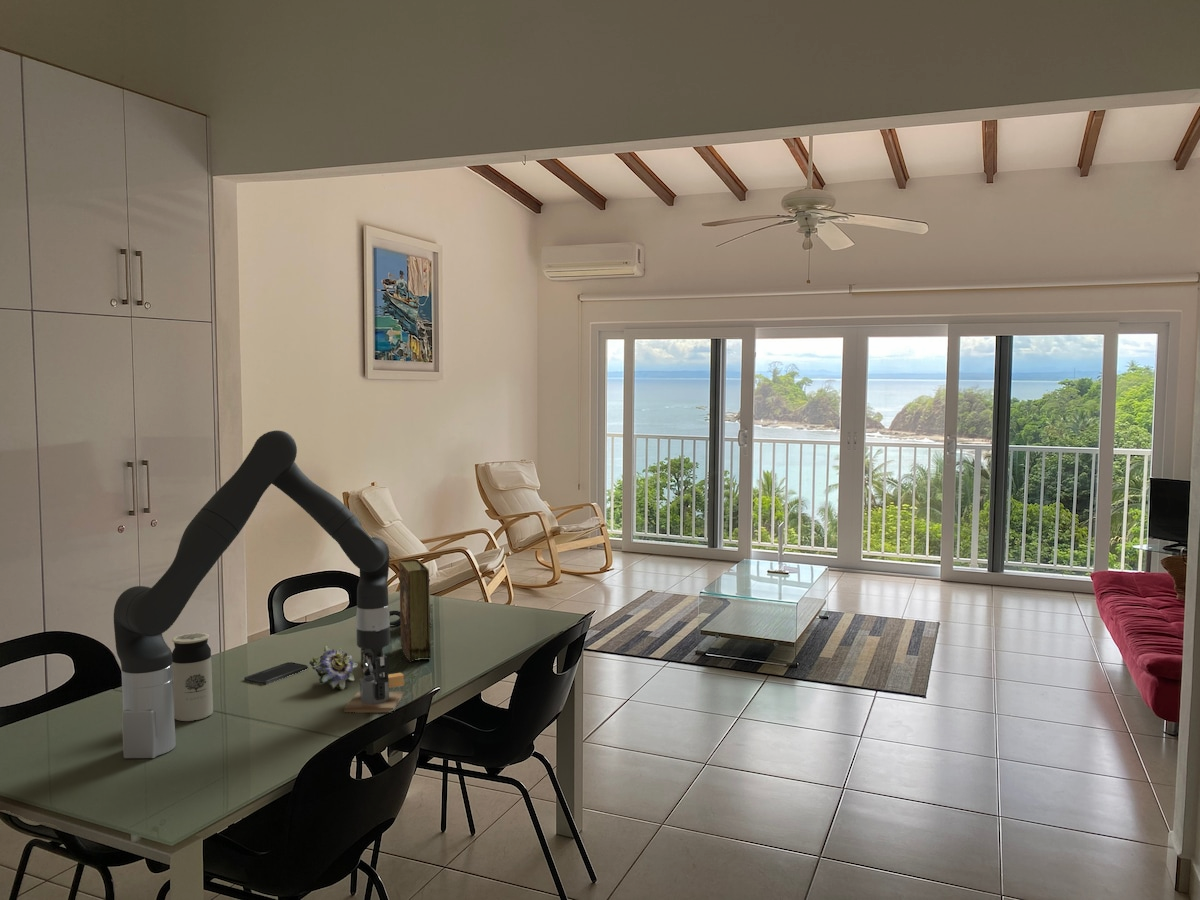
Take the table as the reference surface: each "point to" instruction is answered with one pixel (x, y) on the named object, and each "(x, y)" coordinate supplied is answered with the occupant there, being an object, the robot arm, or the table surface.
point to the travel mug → (192, 677)
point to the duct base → (387, 706)
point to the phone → (275, 673)
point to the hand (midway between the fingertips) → (374, 693)
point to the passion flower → (334, 667)
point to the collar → (369, 690)
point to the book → (414, 609)
